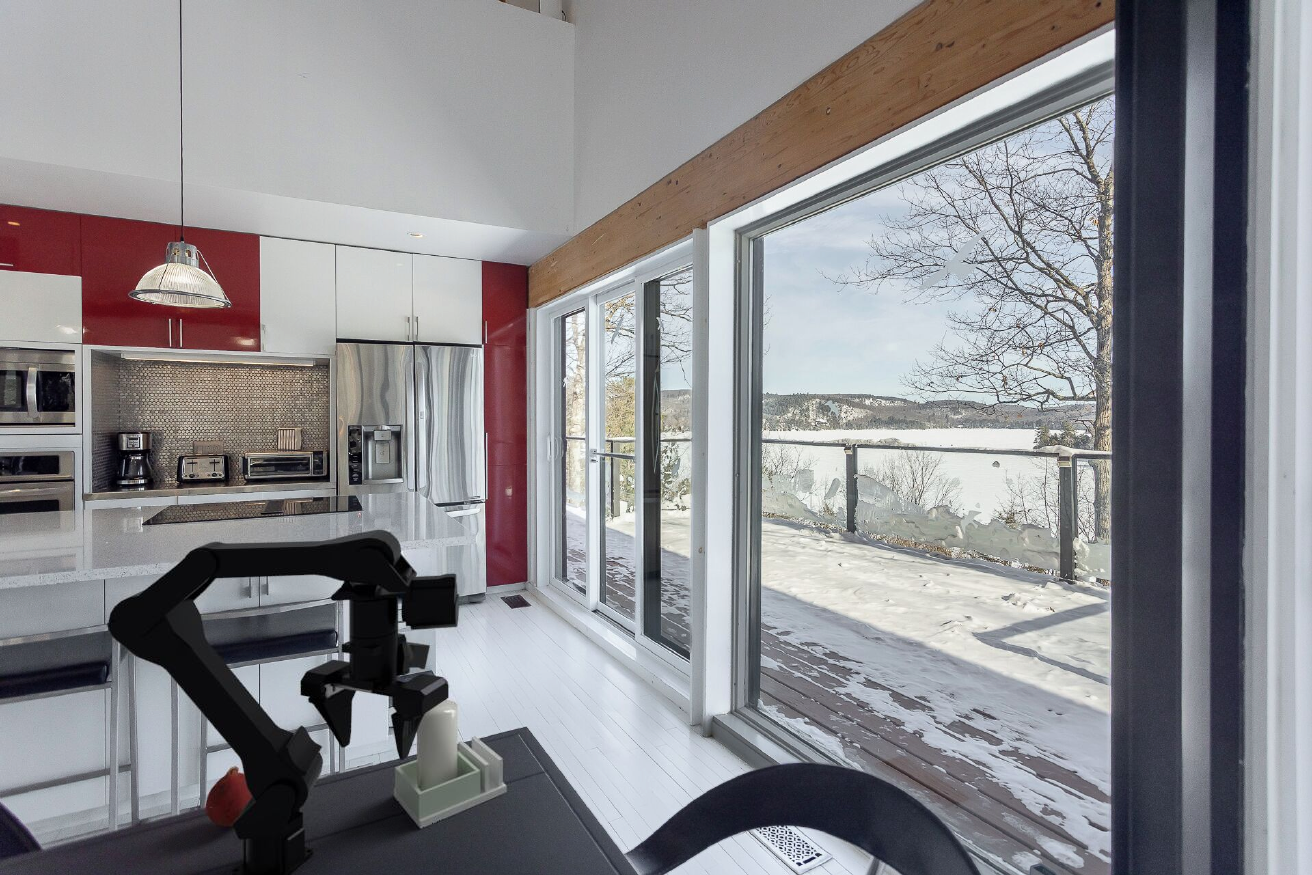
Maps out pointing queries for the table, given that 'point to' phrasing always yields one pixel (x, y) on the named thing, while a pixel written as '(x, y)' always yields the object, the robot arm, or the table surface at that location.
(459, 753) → the pale green holder box
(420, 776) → the off-white round-top cylinder
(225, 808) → the red rounded egg shape
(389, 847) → the table surface
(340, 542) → the robot arm
